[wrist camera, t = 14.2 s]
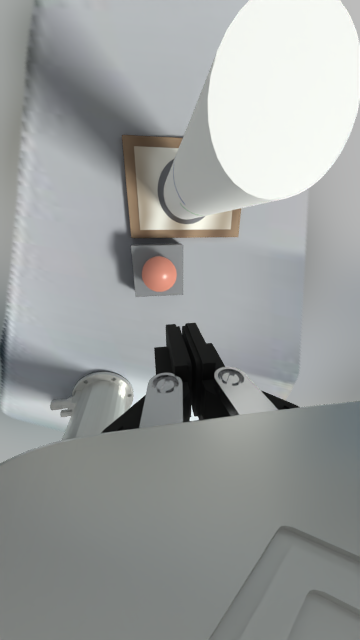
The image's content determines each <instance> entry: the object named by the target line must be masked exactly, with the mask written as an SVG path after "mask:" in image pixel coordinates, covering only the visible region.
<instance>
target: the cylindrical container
mask: <svg viewBox="0 0 360 640" xmlns="http://www.w3.org/2000/svg"><path fill="white" fill-rule="evenodd" d="M359 101H360V44H359V39H358V35H357V31H356V29H355V26H354V24H353V22H352V19H351V17H350V14H349V13H348V11H347V10H346V8H345V7H344V5H343V4H342V3H341V1H340V0H250V1H249V2H248V3H247V4H246V5H245V6H244V7H243V8H242V9H241V10H240V11H239V13H238V14H237V15H236V17H235V18H234V20H233V21H232V23H231V24H230V26H229V27H228V29H227V31H226V33H225V35H224V38H223V40H222V42H221V44H220V46H219V49H218V51H217V53H216V56H215V58H214V61H213V63H212V66H211V68H210V71H209V74H208V76H207V79H206V81H205V84H204V86H203V89H202V91H201V94H200V96H199V99H198V101H197V104H196V107H195V109H194V112H193V114H192V117H191V119H190V122H189V124H188V127H187V129H186V131H185V134H184V136H183V139H182V141H181V144H180V146H179V149H178V151H177V154H176V156H175V159H174V161H173V164H172V167H171V169H170V172H169V174H168V176H167V179H166V181H165V185H164V200H165V203H166V206H167V208H168V209H169V210H170V212H171V213H172V214H173V215H175V216H176V217H178V218H181V219H186V220H187V219H194V218H198V217H203V216H208V215H212V214H217V213H221V212H226V211H231V210H235V209H240V208H244V207H249V206H254V205H258V204H263V203H267V202H272V201H277V200H281V199H285V198H288V197H291V196H294V195H297V194H299V193H301V192H303V191H304V190H306V189H308V188H310V187H311V186H312V185H313V184H315V183H316V182H317V181H318V180H319V179H321V178H322V176H323V175H324V174H325V173H326V172H327V171H328V170H329V169H330V167H331V166H332V165H333V163H334V162H335V160H336V159H337V157H338V156H339V155H340V153H341V152H342V150H343V147H344V146H345V144H346V141H347V139H348V137H349V135H350V133H351V130H352V127H353V124H354V121H355V118H356V115H357V112H358V106H359Z"/></svg>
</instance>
